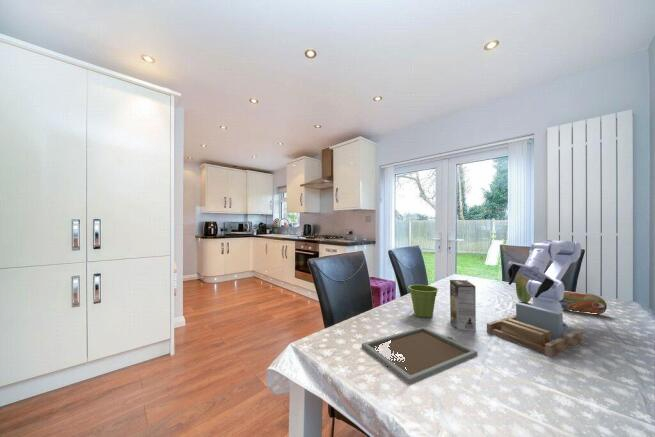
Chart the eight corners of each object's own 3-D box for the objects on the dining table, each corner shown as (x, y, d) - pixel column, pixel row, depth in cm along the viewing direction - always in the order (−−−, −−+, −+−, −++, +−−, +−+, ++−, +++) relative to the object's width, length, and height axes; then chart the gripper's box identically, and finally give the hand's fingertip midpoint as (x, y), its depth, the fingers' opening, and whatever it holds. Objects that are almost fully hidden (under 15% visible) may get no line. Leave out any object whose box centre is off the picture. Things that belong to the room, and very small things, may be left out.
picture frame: (361, 343, 73) (428, 324, 86) (361, 348, 73) (428, 329, 86) (409, 379, 56) (483, 349, 69) (409, 386, 56) (483, 354, 69)
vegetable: (536, 304, 112) (535, 262, 113) (525, 305, 111) (524, 262, 112) (523, 300, 118) (522, 260, 119) (513, 301, 117) (512, 260, 118)
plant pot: (440, 313, 101) (440, 286, 101) (436, 322, 91) (436, 293, 91) (411, 307, 107) (411, 283, 108) (405, 316, 97) (405, 288, 98)
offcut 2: (510, 331, 84) (510, 318, 84) (550, 345, 74) (550, 331, 74) (507, 332, 83) (507, 319, 83) (547, 347, 73) (546, 332, 73)
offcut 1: (505, 333, 82) (504, 320, 82) (544, 348, 72) (544, 333, 73) (501, 334, 81) (501, 321, 82) (541, 349, 72) (541, 334, 72)
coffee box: (449, 319, 94) (449, 279, 94) (467, 321, 92) (466, 280, 93) (457, 329, 85) (456, 284, 85) (477, 331, 83) (476, 285, 84)
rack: (520, 321, 92) (519, 313, 92) (582, 341, 77) (582, 331, 77) (486, 331, 83) (486, 323, 83) (550, 356, 67) (550, 346, 67)
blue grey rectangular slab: (520, 327, 87) (519, 302, 88) (563, 341, 77) (562, 313, 77) (516, 328, 86) (515, 303, 87) (559, 342, 76) (558, 314, 76)
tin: (557, 309, 105) (557, 290, 106) (555, 307, 108) (555, 289, 108) (607, 316, 98) (606, 296, 98) (603, 314, 100) (603, 294, 100)
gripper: (517, 248, 90) (503, 271, 83) (566, 269, 81) (555, 296, 75) (510, 260, 94) (496, 282, 88) (556, 280, 85) (545, 307, 79)
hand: (523, 289), depth 82 cm, fingers open, 7 cm apart
